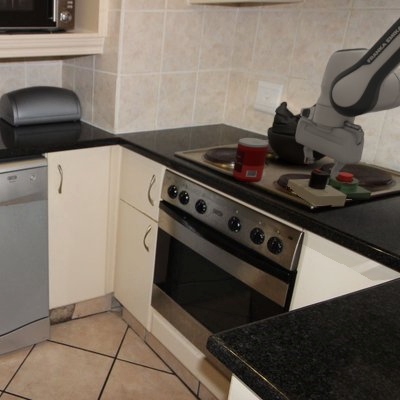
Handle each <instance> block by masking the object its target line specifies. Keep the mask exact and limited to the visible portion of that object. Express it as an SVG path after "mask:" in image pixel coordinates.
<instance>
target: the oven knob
mask: <svg viewBox="0 0 400 400" xmlns="http://www.w3.org/2000/svg"><path fill="white" fill-rule="evenodd" d="M329 177H330V176H329V175H328V171H325V170H321V169H318V168H314V169H312V170H311V171H310V176H309V178H308V179H309V183H308V186H309V187H311V188H314V189H320V190H322V189H325V188H326V184H327V180H328V178H329Z"/></svg>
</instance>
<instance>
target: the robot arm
mask: <svg viewBox="0 0 400 400" xmlns="http://www.w3.org/2000/svg"><path fill="white" fill-rule="evenodd" d="M399 67H400V17H399V18H398V19H396V21H395V22H394V23H393V24H392V25H390V27H389V28H388V29H386V31H385V32H384V34H382V36H380V38H379V39H378V40H377V41H376V42H375V43H374V44H373V45H372V46H371V47H370V48H369V49H368V48H365V47H356V48H343V49H338V50H336V51H334V52H333V53H332V54H331V56H330V57H329V58H328V61H327V63H326V66H325V68H324V72H323V75H322V79H321V82H320V83H321V84H320V89H321V90H320V95H319V96H318V98H317V100H316V103H315V104H316V106H315V107H312V106H308V107H302V108H300V112H299V114H300V116H302V117H301V118H300V120H299V122H298V125H297V130H296V135H295V138H296V142H298V143H300V144H302V145H304V155H305V159H304V163H306V165H308V166H309V165H313V164H314V163H315V162H314V159H315V158H313V150H315V151H317V152H319V153H322V154H324V155H326V156H325V157H328V158H330V159H333V164H334V165H333V166H332V167H331V168H328V169H327V170H328V171H327V172H328V175H329V176H328V177H330V176H331V177H337V176H338V174H339V172H340V171H341V170H342V169H343V168H344V167H345V166H346V165H356V164H358V163H360V161H361V160H362V157H363V151H364V146H365V131H364V129H363V128H362V127H363V126H361V125H360V124H355V119H356V117H359V116H363V115H366V114H371V113H378V112H384V111H390V110H393V109H396V108H398V107H400V68H399Z"/></svg>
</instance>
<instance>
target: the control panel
mask: <svg viewBox="0 0 400 400" xmlns="http://www.w3.org/2000/svg"><path fill="white" fill-rule="evenodd" d="M309 179H310V178H296V179H295V178H294V179H288V182H287V185H286V187H287V186H288V187H290V189H292V190H293V191H294V193H296V194H297V195H298V196H299V197H301V198H303V199H305V200H307V201H309V202H311V203H313V204H315V205H332V206H331V207H344V206H345V203H346V201H345V200H346V196H347V195H345V194H344V193H342V192H340V191H338V190H336V189H334V188H332V186H329V185H327V184H326V188H325V189H322V190H320V189H314V188H311V187H309V186H308V183H309ZM299 197H298V198H299ZM301 198H300V199H301Z"/></svg>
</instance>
